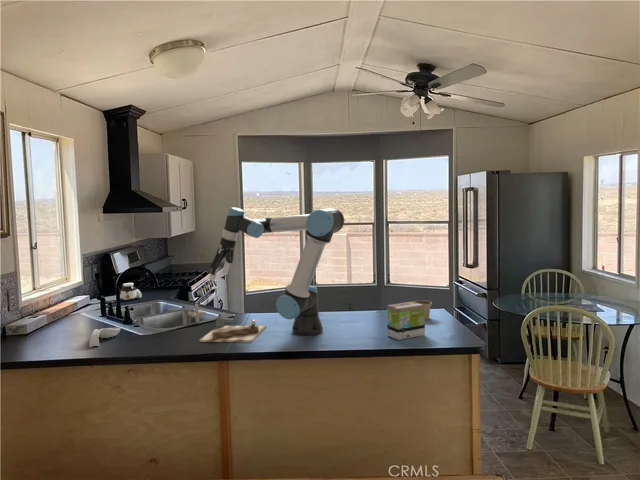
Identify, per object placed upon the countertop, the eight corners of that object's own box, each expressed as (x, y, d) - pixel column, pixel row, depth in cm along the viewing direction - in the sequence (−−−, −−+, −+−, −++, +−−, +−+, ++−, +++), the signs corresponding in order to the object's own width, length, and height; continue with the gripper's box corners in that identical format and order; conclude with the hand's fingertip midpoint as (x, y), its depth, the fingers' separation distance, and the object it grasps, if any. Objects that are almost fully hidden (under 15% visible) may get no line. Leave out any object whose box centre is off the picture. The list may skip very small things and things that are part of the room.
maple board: (266, 327, 246) (266, 325, 246) (252, 342, 221) (252, 339, 221) (218, 327, 250) (218, 325, 250) (199, 341, 225) (199, 339, 225)
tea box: (399, 340, 214) (398, 308, 213) (386, 335, 223) (385, 304, 222) (425, 335, 221) (425, 304, 220) (412, 330, 230) (411, 300, 229)
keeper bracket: (235, 328, 243) (234, 318, 243) (231, 329, 241) (230, 320, 240) (220, 325, 249) (219, 316, 249) (216, 327, 247) (215, 317, 246)
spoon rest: (100, 334, 246) (99, 321, 246) (124, 333, 247) (123, 319, 247) (81, 348, 223) (80, 333, 222) (107, 346, 224) (106, 332, 223)
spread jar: (119, 301, 332) (118, 284, 331) (128, 297, 343) (127, 281, 342) (135, 301, 330) (134, 284, 329) (144, 297, 341) (142, 281, 340)
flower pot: (434, 317, 253) (434, 301, 253) (428, 321, 246) (428, 304, 245) (418, 315, 258) (417, 299, 258) (411, 319, 251) (411, 303, 250)
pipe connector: (201, 325, 257) (200, 306, 256) (184, 324, 259) (183, 306, 258) (209, 320, 266) (208, 302, 265) (193, 320, 268) (192, 302, 267)
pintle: (255, 325, 234) (255, 320, 234) (254, 326, 233) (254, 321, 232) (252, 325, 235) (251, 320, 234) (251, 326, 233) (250, 321, 233)
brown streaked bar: (257, 329, 237) (256, 324, 237) (259, 332, 233) (259, 326, 232) (212, 336, 228) (211, 331, 228) (214, 339, 224) (213, 333, 223)
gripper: (233, 231, 246) (223, 268, 251) (210, 239, 223) (199, 280, 228) (246, 236, 245) (235, 274, 250) (224, 245, 221) (212, 285, 226)
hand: (218, 277), depth 239 cm, fingers open, 13 cm apart
